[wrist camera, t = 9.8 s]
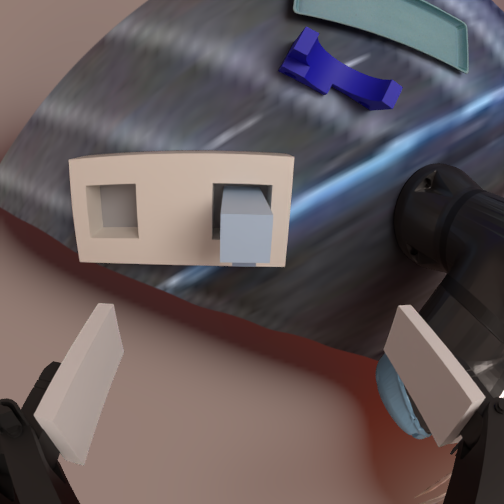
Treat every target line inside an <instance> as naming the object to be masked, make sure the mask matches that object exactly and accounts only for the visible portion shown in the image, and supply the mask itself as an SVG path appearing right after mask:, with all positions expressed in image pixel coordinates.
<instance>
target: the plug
mask: <svg viewBox="0 0 504 504" xmlns="http://www.w3.org/2000/svg"><path fill="white" fill-rule="evenodd" d="M272 228H273V213H272V211H271V209H270V207H269V205H268V203H267V201H266V199H265V197H264V195H263V193H262V191H261V189H260V187H246V186H224V189H223V198H222V206H221V221H220V262H229V263H232V266H241V267H256V263H270V254H271V241H272Z"/></svg>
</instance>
